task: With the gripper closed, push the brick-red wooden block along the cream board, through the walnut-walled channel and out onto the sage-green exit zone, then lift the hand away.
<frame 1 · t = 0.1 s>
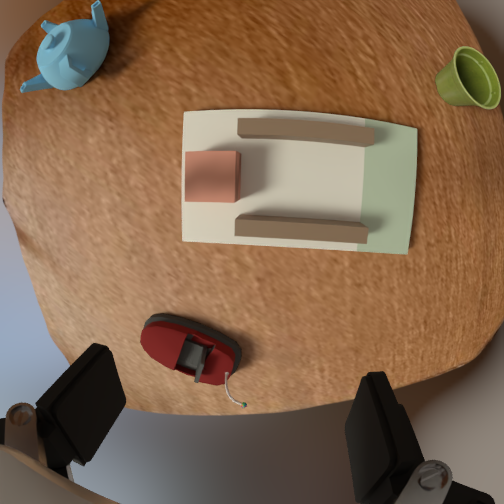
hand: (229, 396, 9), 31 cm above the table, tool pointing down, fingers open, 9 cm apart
bumper car: (199, 345, 46), on the table
plant pot: (449, 89, 30), on the table
block: (217, 176, 36), point 2 cm above the table, touching board with rails
board with rails: (302, 179, 37), on the table
teapot: (83, 57, 34), on the table
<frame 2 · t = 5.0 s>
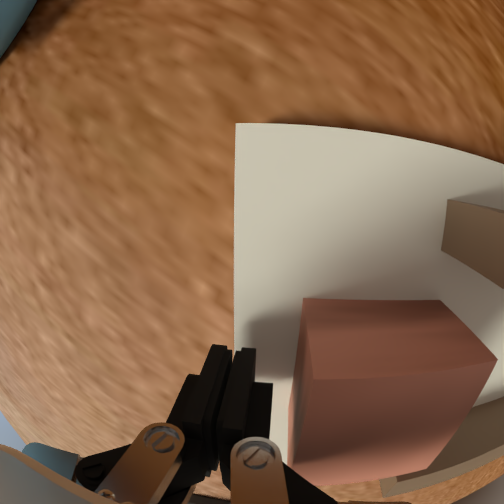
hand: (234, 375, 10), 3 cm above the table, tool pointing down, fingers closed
block: (363, 361, 11), point 2 cm above the table, touching gripper, board with rails
board with rails: (498, 325, 12), on the table
teapot: (3, 20, 9), on the table
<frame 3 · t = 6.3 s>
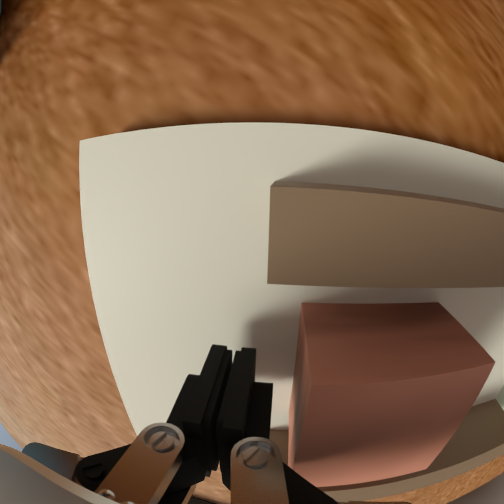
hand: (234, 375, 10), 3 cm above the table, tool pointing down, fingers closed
block: (362, 364, 11), point 2 cm above the table, touching gripper, board with rails
board with rails: (420, 332, 12), on the table
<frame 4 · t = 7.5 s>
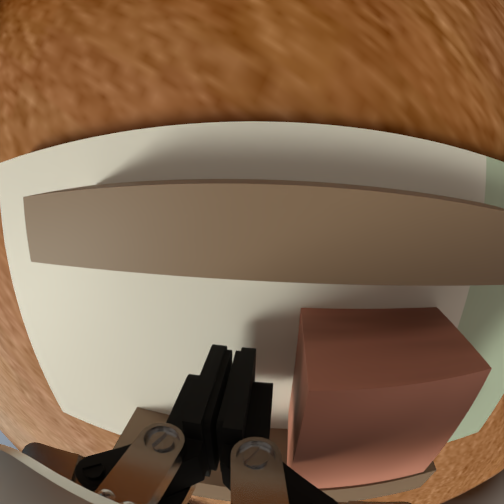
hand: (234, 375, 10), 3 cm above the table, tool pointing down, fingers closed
block: (361, 368, 11), point 2 cm above the table, touching gripper, board with rails
board with rails: (288, 332, 13), on the table
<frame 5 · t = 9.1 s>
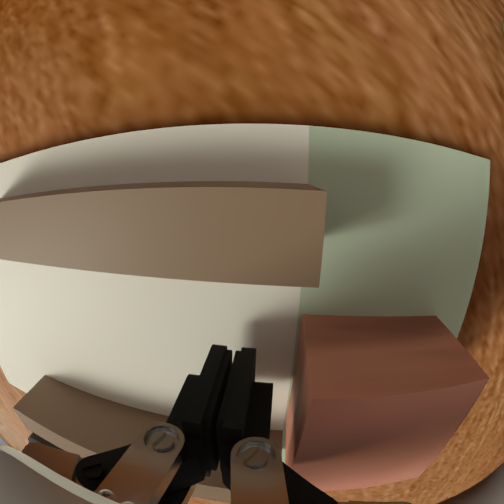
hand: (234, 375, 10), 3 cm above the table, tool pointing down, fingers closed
block: (359, 374, 11), point 2 cm above the table, touching gripper, board with rails
board with rails: (136, 319, 14), on the table
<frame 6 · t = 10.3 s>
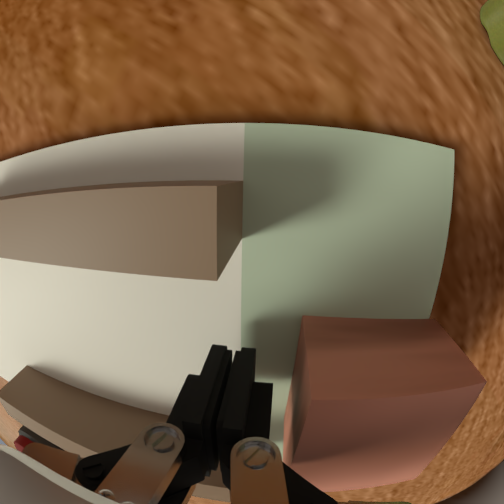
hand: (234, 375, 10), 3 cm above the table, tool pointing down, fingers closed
bumper car: (78, 466, 23), on the table
block: (358, 375, 11), point 2 cm above the table, touching gripper, board with rails
board with rails: (104, 312, 14), on the table
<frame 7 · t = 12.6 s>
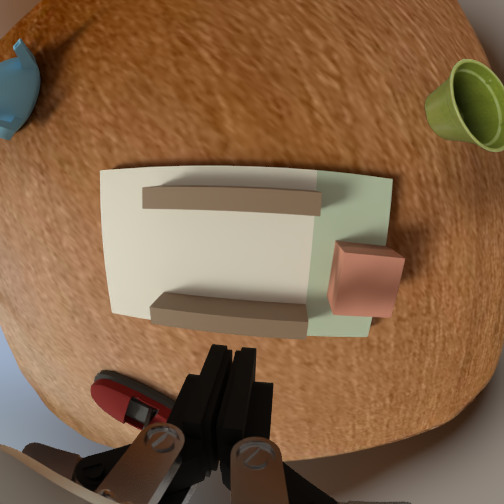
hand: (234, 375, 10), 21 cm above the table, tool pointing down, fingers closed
bumper car: (148, 402, 40), on the table
plant pot: (443, 116, 24), on the table
block: (358, 271, 28), point 2 cm above the table, touching board with rails
board with rails: (235, 249, 31), on the table
teapot: (21, 97, 28), on the table
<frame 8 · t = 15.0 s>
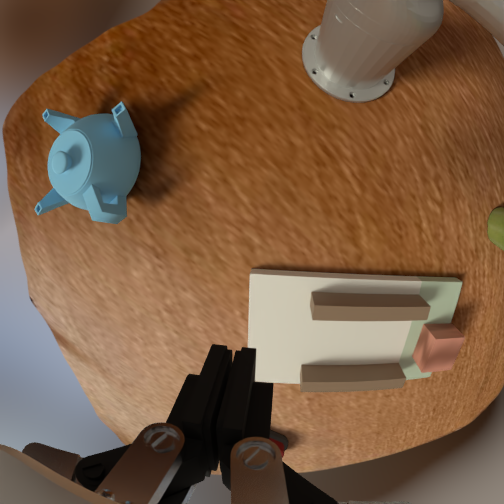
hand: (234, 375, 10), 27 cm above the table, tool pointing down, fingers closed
plant pot: (497, 225, 32), on the table
block: (432, 339, 36), point 2 cm above the table, touching board with rails
board with rails: (356, 330, 39), on the table
teapot: (106, 160, 36), on the table
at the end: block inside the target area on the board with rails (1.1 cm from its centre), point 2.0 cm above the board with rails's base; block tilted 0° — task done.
